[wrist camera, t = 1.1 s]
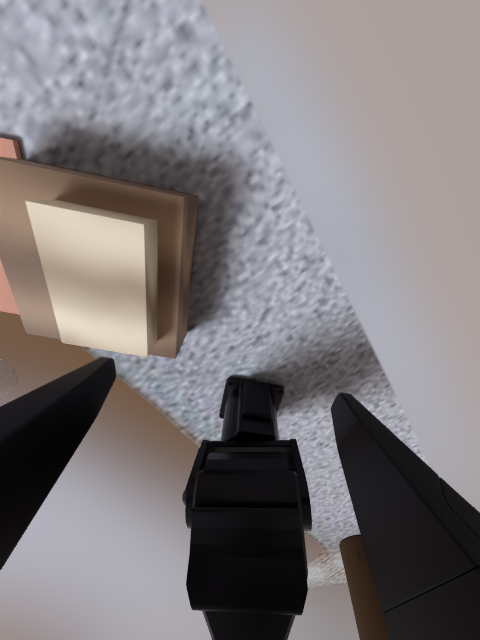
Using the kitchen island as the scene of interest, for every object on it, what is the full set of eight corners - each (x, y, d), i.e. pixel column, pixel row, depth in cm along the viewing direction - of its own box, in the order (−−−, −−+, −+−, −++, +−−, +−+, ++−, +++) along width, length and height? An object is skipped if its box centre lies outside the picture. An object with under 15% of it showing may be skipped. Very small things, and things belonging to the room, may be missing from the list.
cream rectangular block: (157, 340, 18) (147, 356, 16) (80, 327, 18) (61, 342, 16) (157, 220, 14) (143, 224, 12) (54, 199, 13) (25, 200, 12)
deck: (187, 332, 22) (175, 358, 19) (62, 310, 22) (26, 333, 18) (198, 195, 16) (184, 197, 13) (26, 160, 16) (-38, 151, 12)
